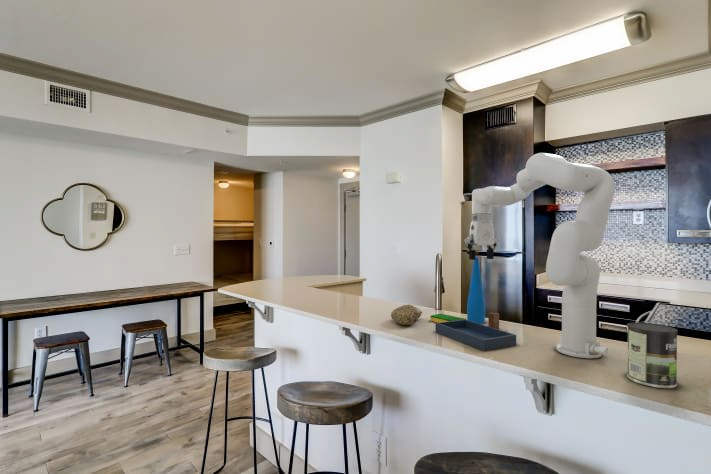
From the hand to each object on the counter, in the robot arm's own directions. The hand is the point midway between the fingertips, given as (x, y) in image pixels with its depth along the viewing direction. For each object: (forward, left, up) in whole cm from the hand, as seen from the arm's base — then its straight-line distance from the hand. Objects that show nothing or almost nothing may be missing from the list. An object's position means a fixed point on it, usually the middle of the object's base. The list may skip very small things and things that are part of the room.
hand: (481, 259), depth 157 cm
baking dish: (-14, +17, -28) cm, 36 cm away
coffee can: (-64, +3, -28) cm, 70 cm away
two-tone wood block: (-11, +4, -28) cm, 30 cm away
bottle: (+5, -2, -28) cm, 28 cm away
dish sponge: (+9, +10, -28) cm, 31 cm away
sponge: (+17, +26, -28) cm, 42 cm away
